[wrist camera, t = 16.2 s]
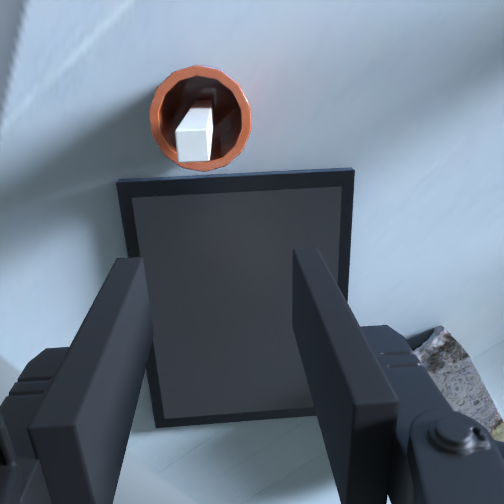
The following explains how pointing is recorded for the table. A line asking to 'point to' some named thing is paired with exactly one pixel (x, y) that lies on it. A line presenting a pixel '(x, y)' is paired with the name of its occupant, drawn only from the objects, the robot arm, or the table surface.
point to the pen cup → (225, 113)
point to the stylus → (195, 133)
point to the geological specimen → (459, 380)
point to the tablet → (231, 286)
